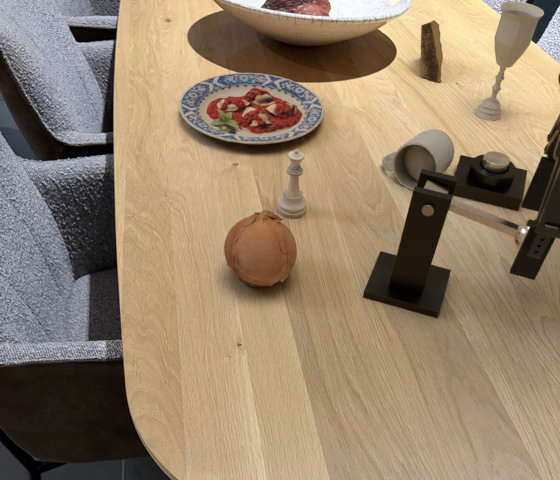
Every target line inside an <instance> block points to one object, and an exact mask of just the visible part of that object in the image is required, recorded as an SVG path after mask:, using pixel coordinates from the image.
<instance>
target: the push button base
mask: <svg viewBox="0 0 560 480" xmlns="http://www.w3.org/2000/svg"><path fill="white" fill-rule="evenodd" d="M484 155H485V154H479V155H477V156H475V157H472V156H468V155H463V154H460V156H459V158H458V162H457V164H456V168H455V171H454V174H453V176H455V177H458V181H457V185H456V188H455V191H454V194H453V197H457V198H462V199H466V200H470V201H475V202H479V203H482V204H487V205H491V206H495V207H499V208H504V209H508V210H512V211H515V212H518V211H519V210H520V208H521V204H522V201H523V199H524V195H525V194H524V193H525V188H526V183H527V182H526V181H527V176H528V170H527V169H524V168H519V167H517V166H516V165H515V164H514V163H513V162H512V161H511V160H510V162H509V165H508V167H507V170H506V172H505V173H504V174H493V173H489V172H487V171H485V170H483V169H482V168H481V163H482V160H483V157H484Z"/></svg>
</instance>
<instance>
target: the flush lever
mask: <svg viewBox="0 0 560 480" xmlns="http://www.w3.org/2000/svg"><path fill="white" fill-rule="evenodd" d="M423 188H425V189H429V190H433V191H437V192H441V193H446V194H448V191H449V188H447V187H444V186H442V185H439V184H437V183H434V182H432V181H429V180H427V181H426V183H425V185H424V187H423ZM448 212H450V213H451V212H452V213H454V214H456V215H459V216H461V217H463V218H466V219H469V220H471V221H474V222H476V223H479V224H480V225H483V226H486V227H488V228H491V229H493V230H496V231H498V232H501V233H502V234H505V235H508V236H510V237H512V241H513V243H514V245H515V246H516V247H517V248H518V250H519V249H520V247H521V245H522V243H523V240H524V238H525V236H526V234H527V232H528V229H529V226H526V223H527V221H528V220H526V221H523V222H521V223H520V224H517V223H515V222H512V221H510V220H506V219H505V218H502V217H499V216H497V215H495V214H492V213H490V212H487V211H485V210H482V209H480V208H477V207H475V206H472V205H470V204H467V203H465V202H462V201H460V200H457V199H455V198H454V197H453V198H452V201H451V204H450V207H449V210H448Z"/></svg>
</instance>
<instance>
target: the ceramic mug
mask: <svg viewBox="0 0 560 480" xmlns="http://www.w3.org/2000/svg"><path fill="white" fill-rule="evenodd" d="M454 157H455V145H454V143H453V140H452V139H451V137H450V136H449V135H448V134H447V133H446V132H444V131H442V130H440V129H437V128H434V129H433V128H431V129H426V130H424V131H422V132H420V133H418V134H417V135H415V136H414V137H413V138H411V139H409V140H408V141H406V142H405V143H404V144H402V145H401V146H400V147H399V148H398V149H397V150H396V151H394V152H393V151H392V152H391V153H389V154H387V155H385V156H384V157H382V159H381V163H382V169H383V170H384V171H387V172H393V174H394V176H395V179H396V180H397V181H398V182H399V184H401V186H403V187H404V188H406V189H408V190H411V191H413V190H414V187H415V186H417V183H418V179H419V176H420V172H421V170H422V169H425V170H430V171H434V172H438V173H442V174H445V172H446V171H447V170H448V169H449V168H450V167H451V164H452V162H453V160H454Z"/></svg>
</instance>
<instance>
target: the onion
mask: <svg viewBox="0 0 560 480" xmlns="http://www.w3.org/2000/svg"><path fill="white" fill-rule="evenodd" d="M282 221H284V219H283V218H281V216H279V215H277V214H275V212H274V211H273V212H272V211H270V210H268V209H263V210H261V211H255V212H254V213H253V214H251V215H249V216H246V217H244V218H242V219H240V220H239V221H237V222H235V224H234V225H232V226H231V228H229V230H228V232H227V235H226V237H225V241H224V244H223V254H224V259H225V261H226V265H227V266H228V268H229V269H230V271H231V272H232V273H233V274H234V275H235V276H236V277H237V278H238V280H239V281H240V282H241V283H242V284H245V285H248V286H250V287H254V288H260V287H262V288H265V287H268V288H269V287H270V288H272V287H273V286H274V284H277V283H278V282H281V283H283V282H284V281H286V279H288V277H289V276H290V273H291V271H292V270H293V269H294V267H295V265H296V261H297V256H298V248H297V242H296V238H295V236H294V234H293V233H292V231H291V229H289V227H288V226H287V225H285V223H284V222H282Z"/></svg>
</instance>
